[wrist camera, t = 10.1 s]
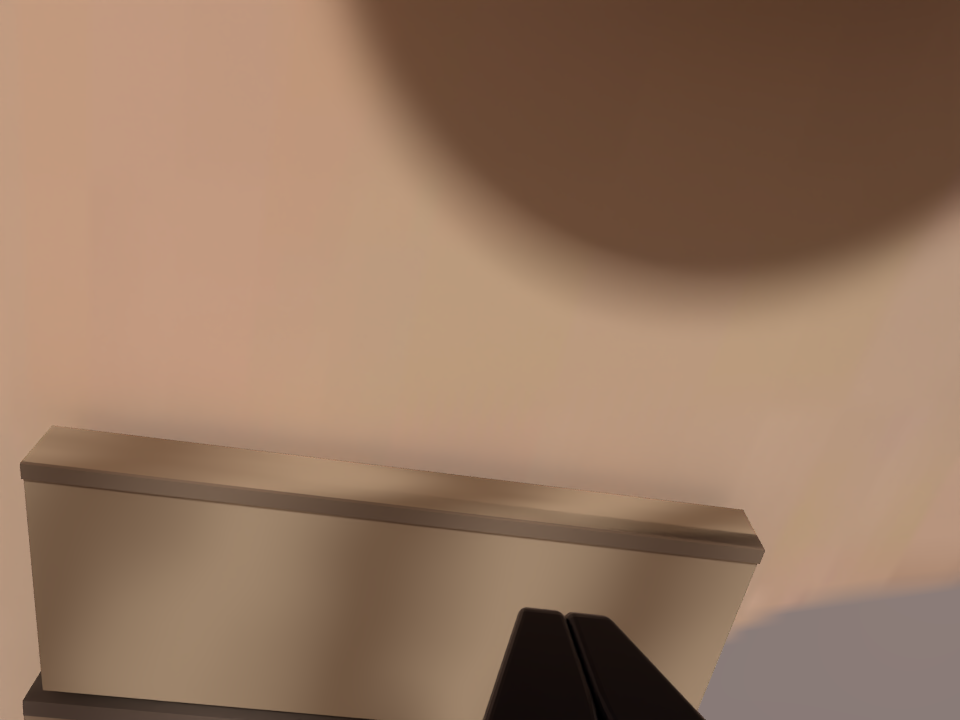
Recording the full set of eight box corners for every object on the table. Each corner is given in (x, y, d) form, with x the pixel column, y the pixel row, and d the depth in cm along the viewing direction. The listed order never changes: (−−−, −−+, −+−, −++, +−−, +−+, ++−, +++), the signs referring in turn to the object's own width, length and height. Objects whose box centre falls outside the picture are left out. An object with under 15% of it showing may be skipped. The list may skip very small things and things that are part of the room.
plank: (743, 510, 21) (765, 550, 19) (669, 702, 24) (683, 749, 22) (52, 425, 19) (20, 463, 17) (67, 645, 22) (41, 693, 20)
